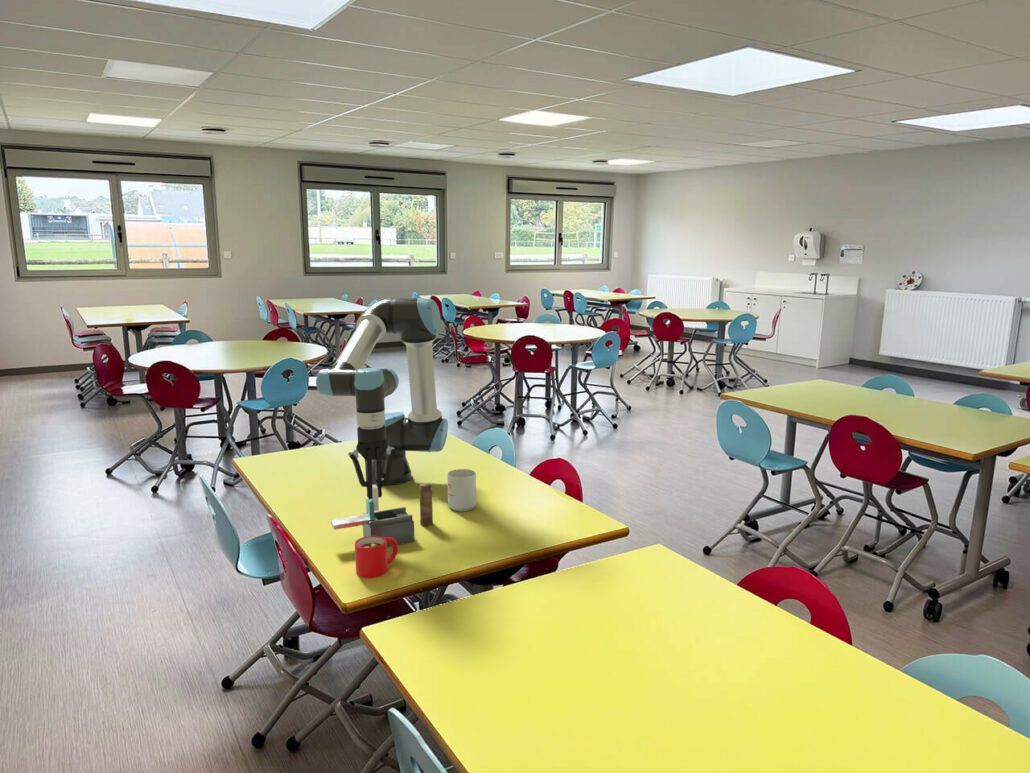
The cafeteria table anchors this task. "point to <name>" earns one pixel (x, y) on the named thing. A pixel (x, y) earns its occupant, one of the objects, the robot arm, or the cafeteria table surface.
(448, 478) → the mug
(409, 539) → the mount
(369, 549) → the mug
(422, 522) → the dowel
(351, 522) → the grey teal l-shaped bracket
